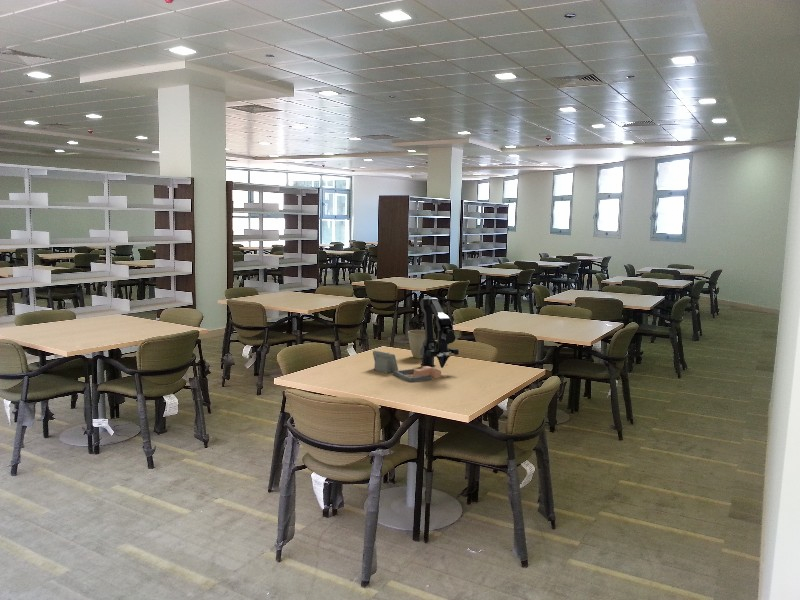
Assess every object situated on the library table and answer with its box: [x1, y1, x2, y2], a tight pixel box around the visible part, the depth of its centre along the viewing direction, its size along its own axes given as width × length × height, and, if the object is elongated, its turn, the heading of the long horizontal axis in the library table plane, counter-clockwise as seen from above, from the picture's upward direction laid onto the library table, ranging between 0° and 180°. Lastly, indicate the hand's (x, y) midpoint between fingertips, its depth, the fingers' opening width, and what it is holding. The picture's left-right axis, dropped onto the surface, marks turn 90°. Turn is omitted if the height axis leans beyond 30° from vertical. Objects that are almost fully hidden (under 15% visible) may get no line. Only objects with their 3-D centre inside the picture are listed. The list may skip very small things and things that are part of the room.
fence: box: [392, 368, 432, 383], centre depth 342 cm, size 13×18×2 cm
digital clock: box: [372, 350, 399, 373], centre depth 356 cm, size 16×9×11 cm, turn 38°
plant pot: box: [407, 329, 425, 359], centre depth 393 cm, size 15×15×16 cm
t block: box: [413, 366, 442, 379], centre depth 346 cm, size 12×13×4 cm
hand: (441, 367), depth 352 cm, fingers closed
